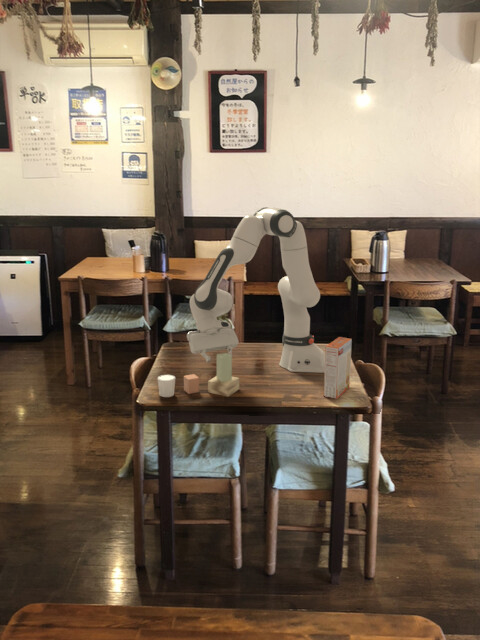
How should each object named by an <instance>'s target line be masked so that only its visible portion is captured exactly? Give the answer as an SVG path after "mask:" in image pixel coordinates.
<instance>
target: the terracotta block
mask: <svg viewBox="0 0 480 640" xmlns="http://www.w3.org/2000/svg"><path fill="white" fill-rule="evenodd" d="M183 391H184V392H186V393H187V395H190V394H195V393H196V394H197V393H200V377H199V376H197V374H195V373H192V374H187V375H184V376H183Z"/></svg>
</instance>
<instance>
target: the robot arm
mask: <svg viewBox="0 0 480 640" xmlns="http://www.w3.org/2000/svg"><path fill="white" fill-rule="evenodd" d="M266 235H269V236H276V237H278V238H279V242H280V243H279V244H280V252H281V253H280V254H281V262H282V264H281V265H282V268H283V270H284V272H285V274H286V275H285V276H284V277H283V276H282V278H281V279H279V282H278V283H277V290H278V292H279V293H278V294H279V295H280V298H281V303H282V309H283V316H284V323H283V324H284V325H283V326H284V327H283V334H282V352H281V358H280V361H279V364H278V365H279V366H280V367H281V368H283V369H286V370H288V371H289V372H291V373H295V372H296V373H317V374H319V373H320V374H324V372H325V350H323V349H322V348H320V347H319V346H318V345H317V344H316V343H315V342H314V341H315V337H314V335H312V334H310V331H311V316H310V313H309V312H308V309H307V308H312V307H315V306H316V305H317V304H318V303H319V301H320V299H321V292H320V290H319V289H320V288H318V286H317V284H316V282H315V280H314V277H313V273H312V270H311V266H310V261H309V260H310V259H309V253H308V252H309V251H308V243H307V236H306V232H305V228H304V226H303V224H302V223H301V221H299V220H296V219H295V216H294V215H293V214H292V213H291V212H290V211H288V210H286V209H282V208H278V207H261V208H260V209H257V210H256V212H255V213H254V214H253V215H252V214H247V215H246V216H244V217H242V219H241V221H240V222H239V223H238V225H237V227H236V228H235V231H234V232H233V234H232V237H231V239H230V241H229V243H228V244H227V246H226V247H225V248H223V249H222V250H221V251H220V253H218V255H217V257H216V258H215V260H214V262H213V263H212V266H211V267H210V269H209V271H208V272H207V274H206V276H205V277H204V279H203V281H202V282H201V283H200V284H199V285H198V286H197V288H196V289H195V291H194V293H193V294H192V295H191V297H190V298H189V307H190V313H191V315H192V318H193V319H194V321H195V326H196V329H197V330H194V331H193V330H192V331H188V333H187V334H186V339H187V342H188V344H189V349H190V352H191V353H192V354H193V355H196V354H200V355H201V356H202V358H204V359H205V362H206V363H209V362H211V361H212V357H211V355H208V354H207V353H210V352H216V351H222V350H227V353H228V354H229V355H231V356H232V357H233V353H232V352H233V349H234V348H236V347H237V346H238V344H239V341H240V340H239V338H238V335H237V333H236V332H235V330H234V329H233V328H231V327H232V324H231V322H228V321H222V320H219V319H218V318H217V317H220V316H223V315H225V314H227V313H229V312H230V311H231V310H232V309H233V305H234V298H233V296H232V294H231V293H230V292H228V291H226V290H223V289H220V288H219V286H220V284H221V282H222V281H223V279H224V277H225V275H226V274H227V271H228V270H229V269H230V268H231V267H234V266H236V265H244V264H247V263H249V262H250V261H251V260H252V259H253V258H254V256H255V254H256V253H257V251H258V247H259V245H260V243H261V240H262V239H263V237H264V236H266Z"/></svg>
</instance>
